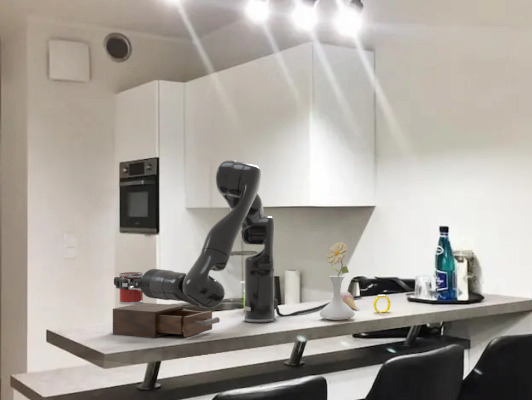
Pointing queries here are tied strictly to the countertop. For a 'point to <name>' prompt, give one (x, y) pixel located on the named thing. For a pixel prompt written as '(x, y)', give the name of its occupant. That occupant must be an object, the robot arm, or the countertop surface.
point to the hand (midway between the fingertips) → (126, 280)
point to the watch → (376, 302)
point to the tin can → (130, 291)
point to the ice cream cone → (348, 299)
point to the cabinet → (140, 319)
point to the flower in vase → (337, 286)
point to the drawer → (185, 322)
